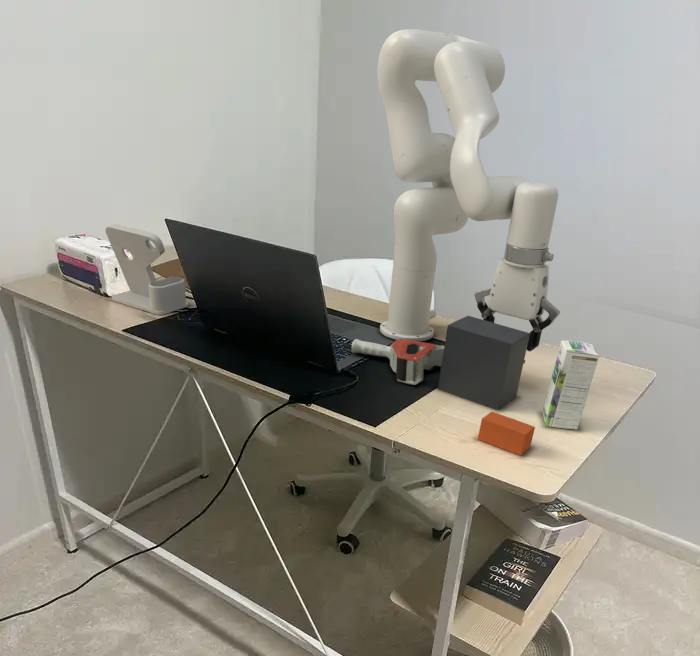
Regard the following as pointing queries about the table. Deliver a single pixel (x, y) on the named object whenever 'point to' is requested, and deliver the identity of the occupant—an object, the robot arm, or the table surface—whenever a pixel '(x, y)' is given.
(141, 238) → the phone holder
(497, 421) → the orange block
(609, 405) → the table surface
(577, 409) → the syrup box
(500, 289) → the robot arm
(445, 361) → the caddy
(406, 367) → the tape dispenser
